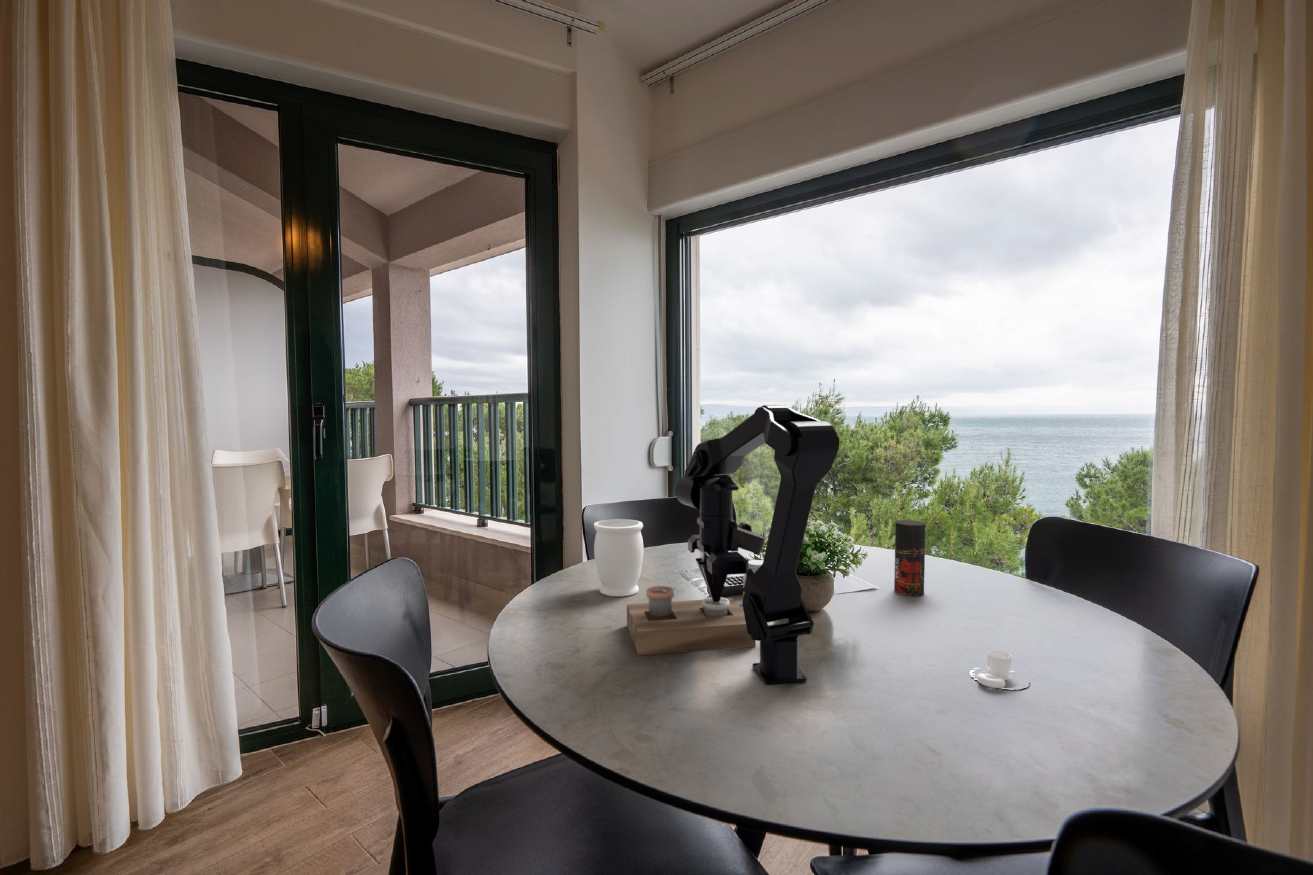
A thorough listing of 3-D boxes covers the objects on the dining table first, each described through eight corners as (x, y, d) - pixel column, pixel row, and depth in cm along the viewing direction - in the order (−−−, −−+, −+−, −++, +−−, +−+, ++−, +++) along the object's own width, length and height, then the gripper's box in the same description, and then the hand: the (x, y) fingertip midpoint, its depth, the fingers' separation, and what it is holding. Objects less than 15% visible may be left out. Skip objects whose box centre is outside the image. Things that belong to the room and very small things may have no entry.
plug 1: (676, 615, 111) (676, 593, 111) (648, 617, 110) (648, 594, 110) (671, 607, 116) (671, 585, 115) (644, 608, 115) (644, 586, 115)
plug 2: (732, 626, 113) (732, 604, 112) (706, 628, 112) (706, 606, 112) (725, 617, 117) (725, 596, 117) (699, 619, 117) (699, 597, 116)
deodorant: (888, 589, 140) (889, 521, 139) (908, 586, 143) (909, 519, 142) (909, 597, 135) (910, 526, 134) (930, 593, 137) (931, 523, 136)
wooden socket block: (755, 646, 109) (755, 623, 109) (637, 655, 105) (637, 631, 105) (731, 618, 123) (731, 597, 122) (626, 625, 119) (626, 604, 119)
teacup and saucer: (993, 697, 91) (993, 669, 91) (953, 674, 99) (953, 647, 98) (1043, 689, 93) (1044, 661, 93) (1000, 667, 101) (1001, 641, 101)
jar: (587, 596, 137) (586, 526, 136) (605, 582, 146) (604, 517, 145) (634, 600, 133) (634, 529, 133) (649, 586, 143) (649, 519, 142)
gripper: (778, 522, 106) (778, 615, 107) (744, 503, 124) (743, 583, 125) (712, 524, 104) (712, 620, 105) (687, 505, 122) (687, 586, 123)
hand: (716, 601), depth 114 cm, fingers closed, pressing on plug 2
